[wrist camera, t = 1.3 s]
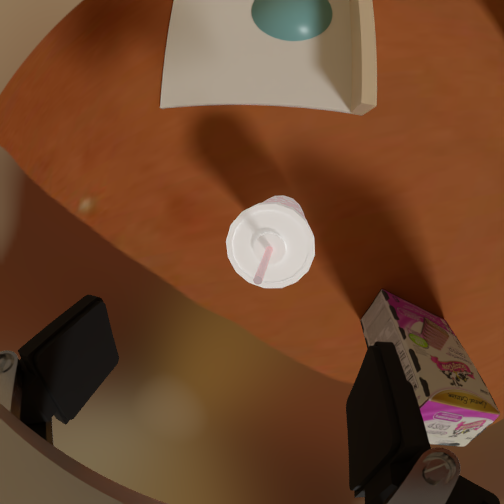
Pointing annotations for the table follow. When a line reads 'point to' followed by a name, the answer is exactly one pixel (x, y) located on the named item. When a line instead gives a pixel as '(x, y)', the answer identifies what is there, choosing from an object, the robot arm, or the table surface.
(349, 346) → the table surface
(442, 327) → the candy bar box
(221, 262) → the table surface
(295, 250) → the beverage cup
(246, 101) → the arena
